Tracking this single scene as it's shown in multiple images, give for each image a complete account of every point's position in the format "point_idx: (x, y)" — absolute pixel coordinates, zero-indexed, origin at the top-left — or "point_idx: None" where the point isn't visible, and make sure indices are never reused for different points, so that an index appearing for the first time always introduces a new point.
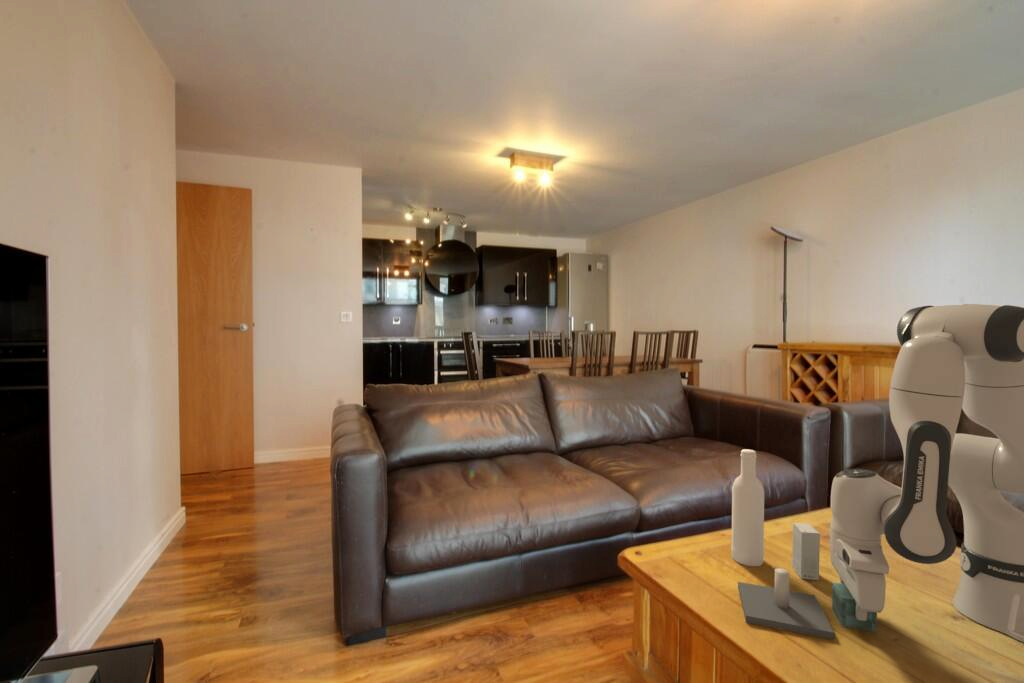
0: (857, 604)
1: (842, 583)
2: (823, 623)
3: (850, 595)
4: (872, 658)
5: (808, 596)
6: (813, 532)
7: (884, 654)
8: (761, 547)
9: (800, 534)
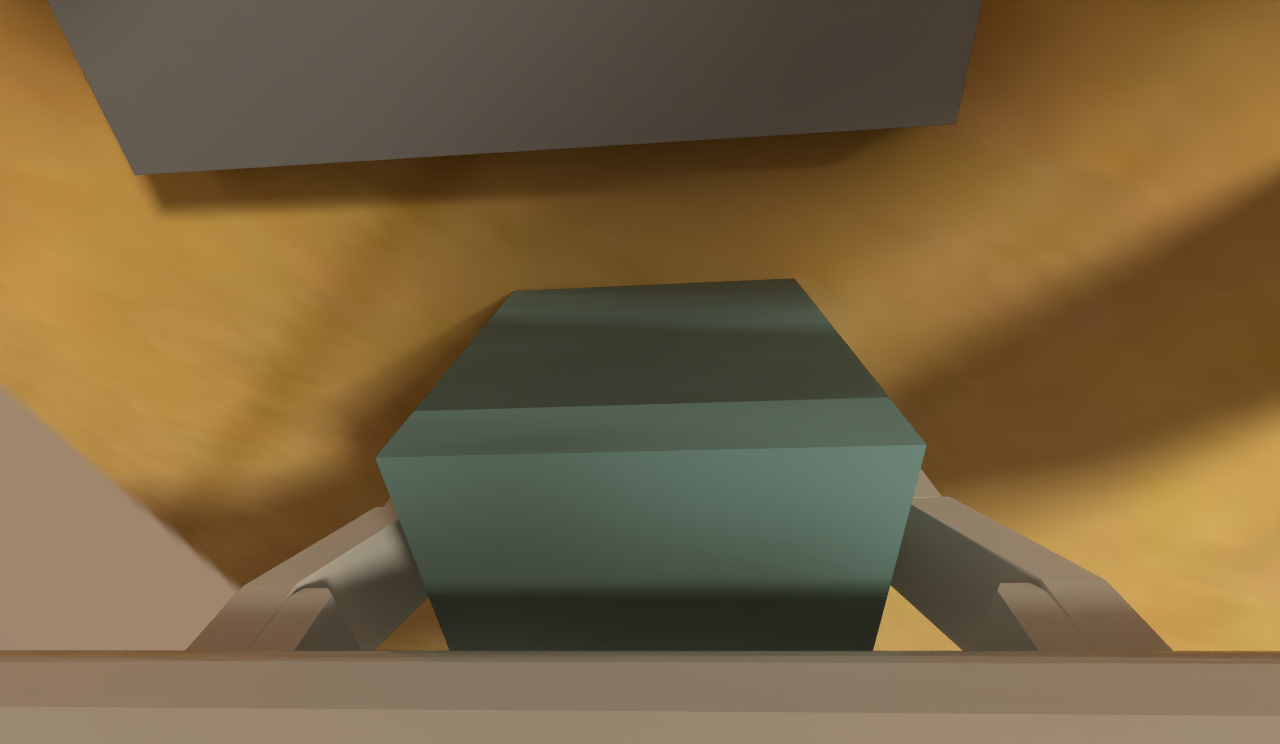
0: (235, 601)
1: (974, 553)
2: (243, 90)
3: (530, 576)
4: (171, 395)
5: (893, 13)
6: None
7: (287, 472)
8: None
9: None
